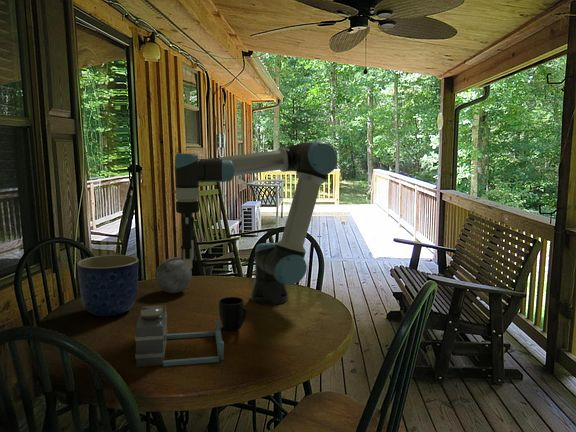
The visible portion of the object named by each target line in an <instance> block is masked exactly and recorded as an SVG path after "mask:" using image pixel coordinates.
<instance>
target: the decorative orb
mask: <svg viewBox="0 0 576 432" xmlns="http://www.w3.org/2000/svg"><path fill="white" fill-rule="evenodd" d="M192 276H193V273H192V269H184V261H183V258H181V257H170V258H167V259H165V260H163V261H162V262H161V263H160V264H159V265H158V267H157V268H156V269H155V272H154V279H155V283H156V285H157V286H158V288H159V289H160V290H162V291H163V292H165V293H168V294H178V293H180V292H183V291H185V290H186V289H187V287H189V286H190V283H191V281H192V278H193V277H192Z"/></svg>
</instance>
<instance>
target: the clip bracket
mask: <svg viewBox="0 0 576 432" xmlns="http://www.w3.org/2000/svg"><path fill="white" fill-rule="evenodd" d="M214 323H215V324H214V326H215V327H214V328H215V330H212V331H197V332H196V331H195V332H183V333H182V332H181V333H167V340H174V339H175V340H177V339H188V338H202V337H203V338H207V337H215V343H216V351H217V356H216V355H215V356H204V357H203V356H202V357H192V358H179V359H176V358H175V359H167V360H165V359H164V360H163V365H162V366H163V367H171V366H183V365H184V366H185V365H194V364H195V365H196V364H197V365H198V364H207V363H208V364H209V363H210V364H211V363H219V362H220V361H223V360H225V341H224V340H223V336H222V331H221V320H215V322H214Z"/></svg>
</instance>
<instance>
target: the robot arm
mask: <svg viewBox="0 0 576 432" xmlns="http://www.w3.org/2000/svg"><path fill="white" fill-rule="evenodd" d="M337 163H338V156H337V152H336V150H335V148H334V147H333V146H332V145H331V144H330V143H327V142H324V141H314V142H311V141H310V142H301V143H296V144H293V145H288V146H283V147H281V146H280V147H279V148H278V149H277V150H271V151H270V150H269V151H260V152H255V153H245V154H237V155H230V156H229V155H228V156H220V157H212V158H199V155H198V154H197V153H191V152H190V153H182V152H181V153H177V154H175V157H174V179H175V180H174V181H175V182H174V183H175V190H173V193H174V194H175V200H177V201H175V212H176V213H178V214H183V217H181V229H182V230H181V231H182V245H181V246H180V249H181V250H182V256H183V258H182V259H183V261H184V269H191V270H192V269H193V260H194V257H195V256H194V255H195V254H194V241H195V240H196V236H194V232H193V231H194V227H195V226H194V224H195V217H193V214H196V213H199V212H200V202H199V199H200V186H199V183H216V182H217V183H219V182H221V183H226V182H231V181H232V180H233V179H234V177H235V176H243V175H251V174H258V173H259V174H260V173H266V172H267V173H268V172H273V171H280V172H282V173H284V172H295V174H296V176H297V178H298V179H297V183H296V187H295V190H294V193H293V197H292V200H291V204H290V208H289V212H288V214H287V218H286V222H285V226H284V229H283V233H282V236H281V239H280V240H279V241H277V242H262V243H258V244H257V245H255V251H254V254H255V256H254V258H255V259H254V260H255V261H254V262H255V264H254V265H255V269H254V271H255V272H254V273H255V275H254V276H255V278H254V279H255V280H254V283H253V286H252V289H251V292H250V300H251V301H252V302H253V303H255V304H259V305H269V306H271V305H279V304H283V303H286V302H288V300H289V292H288V289H287V285H288V286H292V285H296V284H298V283H299V282H301V281H302V279H304V277H305V276H306V272H307V268H308V266H307V263H306V260H305V257H306V256H305V255H306V253H307V251H306V249H305V247H304V245H305V241H306V238H307V235H308V231H309V227H310V224H311V220H312V217H313V213H314V209H315V206H316V203H317V199H318V195H319V191H320V189H321V185H323V184H324V183H326V182H327V178H328V174H330V173H332V172H333V171H334V170H335V169H336V167H337Z"/></svg>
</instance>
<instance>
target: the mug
mask: <svg viewBox="0 0 576 432" xmlns="http://www.w3.org/2000/svg"><path fill="white" fill-rule="evenodd" d="M244 302H245V300H244V299H243V298H241V297H237V296H236V297H235V296H227V297H222V298H220V299H219V300H218V314H219V321H220V324H221V325H222V329H223V330H224V331H226V332H235V331H238V330H240V329H241V328H242V326H243V324H244V323H245V321H246V318H247V315H248V308H247V307H245V306H244V304H245V303H244Z"/></svg>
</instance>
